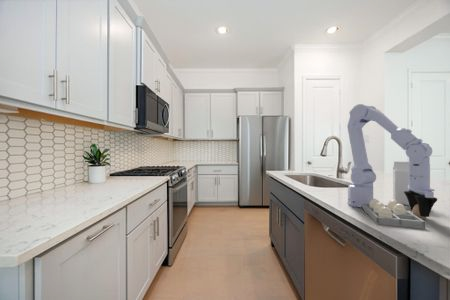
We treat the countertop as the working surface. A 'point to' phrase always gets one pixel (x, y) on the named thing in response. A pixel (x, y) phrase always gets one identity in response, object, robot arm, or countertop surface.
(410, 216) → the egg carton
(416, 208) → the brown egg
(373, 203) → the cream eggs
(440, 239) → the countertop surface
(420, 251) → the countertop surface
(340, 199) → the countertop surface
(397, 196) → the milk carton
